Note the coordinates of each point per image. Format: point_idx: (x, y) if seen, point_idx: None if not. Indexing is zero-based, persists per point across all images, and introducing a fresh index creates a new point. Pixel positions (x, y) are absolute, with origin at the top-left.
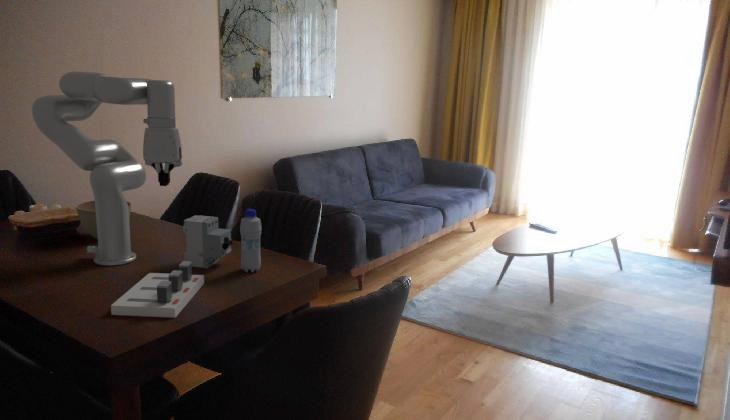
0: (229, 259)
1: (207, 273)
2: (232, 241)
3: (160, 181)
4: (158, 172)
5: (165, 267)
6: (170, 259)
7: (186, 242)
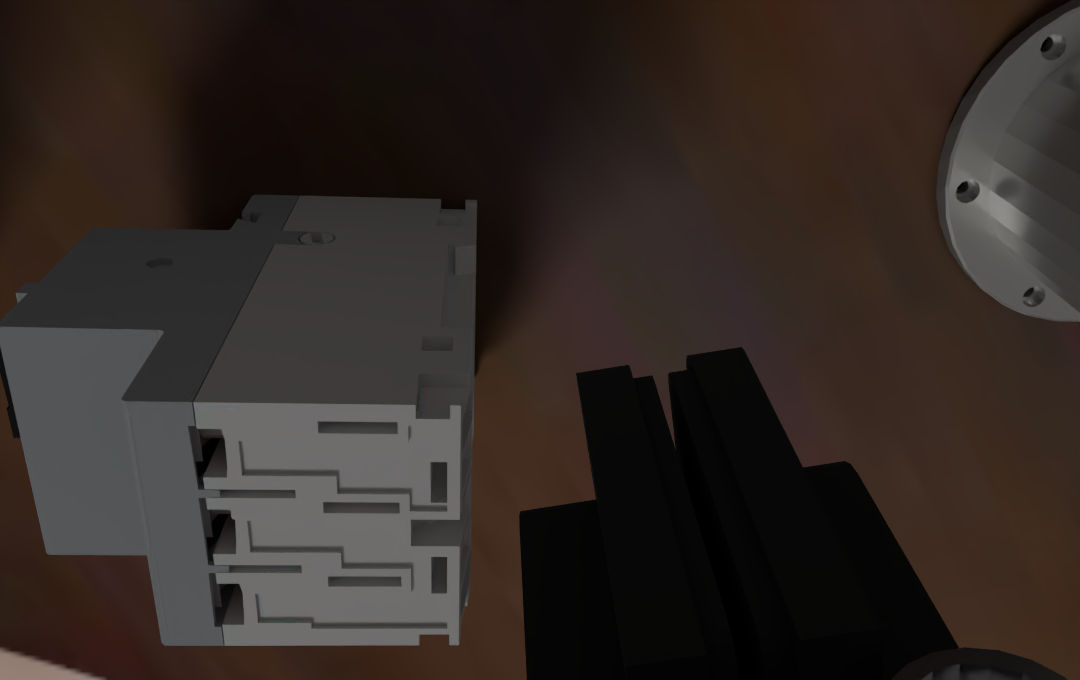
0: None
1: (179, 70)
2: (14, 426)
3: (741, 414)
4: (940, 664)
5: (605, 106)
6: (661, 297)
7: (444, 284)
